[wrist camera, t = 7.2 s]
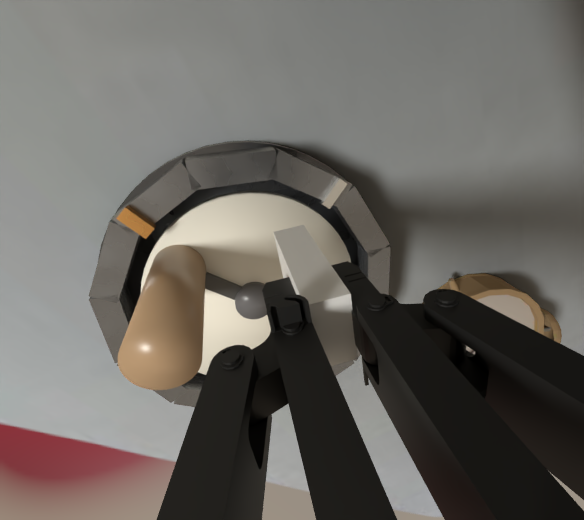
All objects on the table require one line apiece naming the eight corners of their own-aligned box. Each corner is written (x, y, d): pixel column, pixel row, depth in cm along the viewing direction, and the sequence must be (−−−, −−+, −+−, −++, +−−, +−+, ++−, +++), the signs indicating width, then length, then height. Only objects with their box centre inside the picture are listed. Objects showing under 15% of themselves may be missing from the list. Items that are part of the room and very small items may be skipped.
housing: (278, 69, 20) (292, 62, 17) (414, 290, 29) (440, 313, 26) (31, 269, 22) (-1, 299, 18) (231, 419, 31) (234, 456, 27)
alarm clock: (475, 265, 26) (609, 340, 29) (444, 246, 30) (563, 312, 34) (393, 374, 29) (522, 432, 32) (376, 342, 34) (491, 395, 37)
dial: (385, 248, 25) (473, 322, 16) (286, 389, 29) (317, 509, 20) (202, 146, 19) (193, 178, 11) (109, 337, 23) (51, 470, 15)
